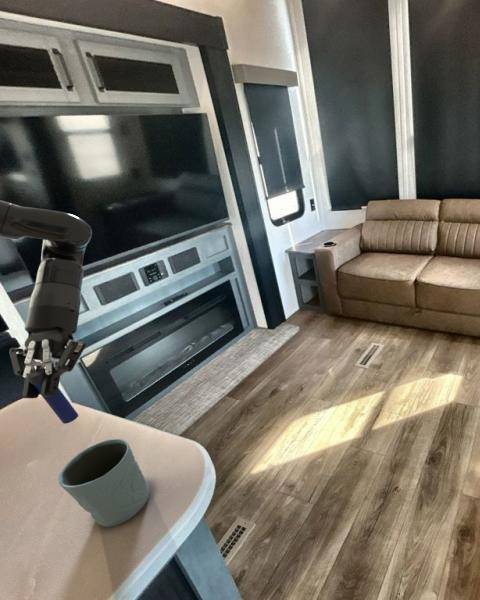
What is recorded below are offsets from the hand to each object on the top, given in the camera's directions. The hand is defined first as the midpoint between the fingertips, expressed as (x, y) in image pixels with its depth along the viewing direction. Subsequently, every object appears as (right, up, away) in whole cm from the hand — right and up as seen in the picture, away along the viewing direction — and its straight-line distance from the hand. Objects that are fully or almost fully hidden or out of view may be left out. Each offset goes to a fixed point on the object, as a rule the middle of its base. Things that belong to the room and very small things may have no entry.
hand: (39, 396), depth 68 cm
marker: (+1, -6, +6) cm, 8 cm away
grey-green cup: (+16, -21, +1) cm, 26 cm away
